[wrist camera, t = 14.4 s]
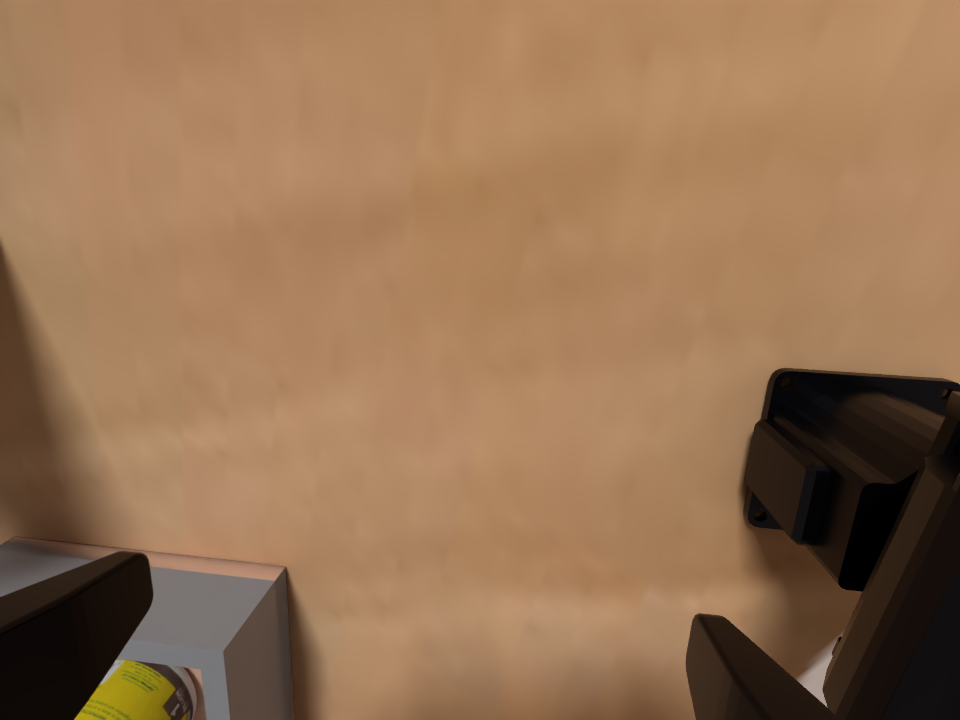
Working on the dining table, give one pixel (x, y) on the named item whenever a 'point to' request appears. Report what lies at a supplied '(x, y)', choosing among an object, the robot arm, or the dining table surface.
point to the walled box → (193, 623)
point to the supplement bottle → (142, 693)
